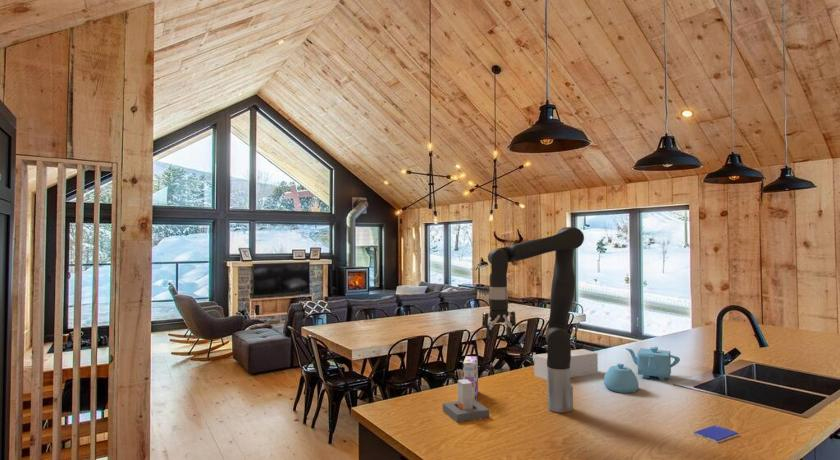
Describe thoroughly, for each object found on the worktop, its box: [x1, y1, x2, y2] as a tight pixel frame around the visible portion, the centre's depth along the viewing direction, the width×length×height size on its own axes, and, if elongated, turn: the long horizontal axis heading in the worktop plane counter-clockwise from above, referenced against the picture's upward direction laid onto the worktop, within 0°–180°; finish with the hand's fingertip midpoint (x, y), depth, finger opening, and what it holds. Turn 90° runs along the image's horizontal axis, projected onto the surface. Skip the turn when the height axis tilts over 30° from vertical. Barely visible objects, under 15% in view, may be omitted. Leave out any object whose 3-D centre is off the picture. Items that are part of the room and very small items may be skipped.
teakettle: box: [624, 346, 681, 382], centre depth 233 cm, size 19×19×15 cm
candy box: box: [462, 355, 479, 401], centre depth 207 cm, size 14×6×16 cm, turn 168°
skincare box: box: [457, 378, 473, 411], centre depth 185 cm, size 6×4×12 cm
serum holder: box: [442, 399, 490, 423], centre depth 185 cm, size 14×14×3 cm
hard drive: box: [693, 424, 739, 444], centre depth 161 cm, size 2×8×12 cm
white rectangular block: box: [533, 348, 599, 381], centre depth 240 cm, size 32×11×11 cm, turn 111°
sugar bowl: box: [603, 362, 639, 394], centre depth 214 cm, size 15×15×12 cm
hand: (499, 337), depth 187 cm, fingers open, 8 cm apart
